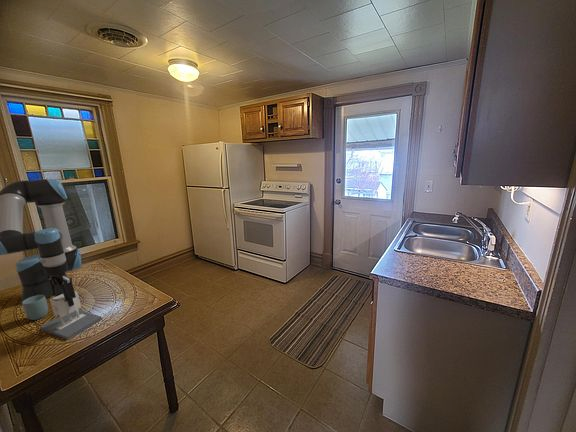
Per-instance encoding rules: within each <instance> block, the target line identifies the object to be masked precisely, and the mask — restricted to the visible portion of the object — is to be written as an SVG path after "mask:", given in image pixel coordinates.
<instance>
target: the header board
mask: <svg viewBox="0 0 576 432" xmlns="http://www.w3.org/2000/svg"><path fill="white" fill-rule="evenodd" d="M102 320H103V316H101V315H98V314H94V313H91V312H86V311H84V310H80V309H77V310H76V311H74V312H72V313H70V314H67V315H65V316H63V317H60V316H56V317H55V318H54V319H52V320H50V321H48V322H45V323H44V324H42V325H40V326H39V329H40V330H41V331H44V332H47V333H48V334H51V335H54V336H56V337H60V338H62V339H64V340H67V341H69V340H70V339H72V338H73V337H75V336H77V335H79V334H81V333H82V332H83V331H86V330H87V329H89V328H91V327H92V326H93V325H96V324H97V323H98V322H100V321H102Z"/></svg>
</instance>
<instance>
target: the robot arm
mask: <svg viewBox="0 0 576 432" xmlns="http://www.w3.org/2000/svg"><path fill="white" fill-rule="evenodd" d="M65 200H68V196H67V194H66V191H65V189H64V186H63V183H62V182H61V181H60V180H59V179H57V178H45V179H43V178H42V179H32V180H31V179H30V180H18V181H17V180H16V181H13V182H11V183H8V184H7V185H5V186H4V187H3V188H2V189H0V256H5V255H10V254H15V253H20V252H25V251H31V250H36V249H38V253H36V254H33V255H29V256H26V257H24V258H22V259H20V260H18V261H17V262H16V264H15V268H16V272H17V275H18V277H19V280H20V283H21V286H22V288H21V289H22V290H21V294H20V295H21V296H20V298H21V299H20V300H21V303H22V302H23V301H24V300H25V299H27V298H30V297H33V296H36V295H44V296H45V298H46V300H47V299H49V298H52V297H56V296H59V295H61V294H63V295H64V297H65V299H66V300H64V302H65V304H66V308H67V311H68V314H70V313H72V312H74V311H76V308H75V304H74V301H73V298H75V297H76V295H75V292H74V291H75V289H74V285H73V278H72V277H68V276H67V274H66V273H67V272H72V271H75V270H78V269H80V268H81V267H82V253H81V252H82V251H81V249H80V248H77V246H76V245H73V242H72V238H71V235H70V231H69V226H68V223H67V219H66V215H65V211H64V208H63V207H64V206H63V205H65V203H66V202H65ZM31 203H34V204H35V206H36V207H38V208H40V209H41V213H42V217H43V220H44V224H45V229H44V228H43V229H40V230H36V231H32V232H26V233H24V217H23V216H24V214H23V213H24V212H23V211H24V208H23V207H25V205H26V204H31Z"/></svg>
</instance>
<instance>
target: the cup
mask: <svg viewBox="0 0 576 432" xmlns="http://www.w3.org/2000/svg"><path fill="white" fill-rule="evenodd" d="M21 306H22V309H23V312H24V314H25V316H26V317H27V319H28V320H30V321H37V320H40V319H42V318H44V317H46V316H47V314H48V312H49V305H48V302H47V299H46V298H45V296H44V295H36V296H33V297H30V298H27V299H25V300H24V301H23V302H22V301H21Z"/></svg>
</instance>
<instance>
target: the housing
mask: <svg viewBox="0 0 576 432" xmlns="http://www.w3.org/2000/svg"><path fill="white" fill-rule="evenodd" d="M74 292H75V295H76V297H75V298H73V301H74V304H75V308H76V310H77V309H78V310H80V308H82V303H81V299H80V295H79V292H78V291H75V290H74ZM64 300H66V299H65V297H64V295H63V294H61V295H59V296H56V297H55V296H53V297H51V298H50V299H49V302H50V305H51V308H52V309H51V310H52V312H53V316H55V317H57V316H58V315H59V316H60V317H63V316H65V315H67V314H68V311H67V308H66V304H65V302H64ZM59 316H58V317H59Z"/></svg>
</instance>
